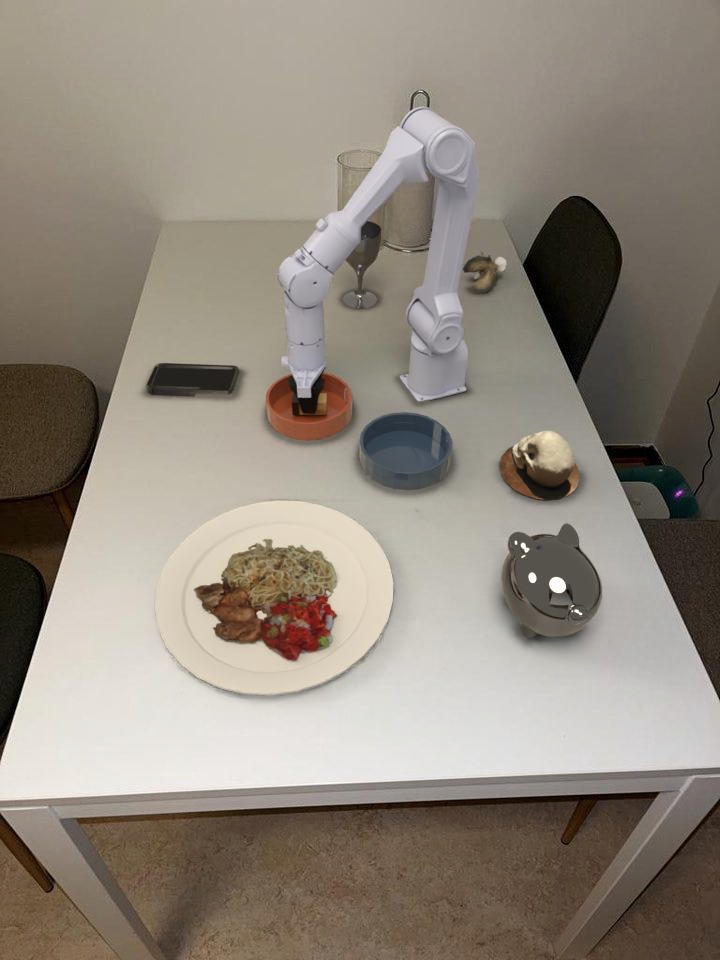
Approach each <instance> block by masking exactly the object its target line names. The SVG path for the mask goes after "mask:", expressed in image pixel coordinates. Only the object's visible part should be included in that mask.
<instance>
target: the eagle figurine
mask: <svg viewBox="0 0 720 960" xmlns="http://www.w3.org/2000/svg"><path fill="white" fill-rule="evenodd" d="M506 267H507V260H506V258H504V257H503V256H497V257H496V258H495V260H493V259H492V258H491V255H490V254H488V255H487V256H485V254H484V252H483V251H482V250H480V255H476V256H474V257H471V258H469V259H468V260H467V261H466V262H465V264H464V265H463V266H462V271H463V273H467V274H468V273H473V274H474V273H475V275H474V277H473V279H472V280H473V281H475V280H476V281H475V282H474V283H473V284H472V285H470V286H469V290H470V291H471V293H473V294H484V293H487V292H489V291H490V290H491V289H492V288H493V287H494V286H495V284H496V283H497V282H498V279H499V275H498V273H497V272H501V273H503V272H504V271H505V269H506Z"/></svg>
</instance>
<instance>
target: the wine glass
mask: <svg viewBox="0 0 720 960" xmlns="http://www.w3.org/2000/svg"><path fill="white" fill-rule="evenodd" d="M381 243H382V228H381V226H380V225H379V224H377V223H376V222H373V221H369V220H368V221H367V222H366V223H365V224H364V225H363V226H362V227H361V241H360V243H359V244H358V245H357V247H356V248H355V249H354V250H353V251H352V253H351V254H350V255H349V256H348V258H347V259H346V260H345V262H346V263H347V264H348V265H349V266H350V268H352V269H353V271H354V272H355V274H356V278H357V290H355V291H351V292H348V293H346V294H344V296H343V297H342V302H343V304H344V305H345V306H347V307H348V308H351V309H358V310H359V309H361V310H362V309H368V308H372V307H374V306H375V305H376V304H377V302H378V298H377V296H376V295H375V293H372V292H370V291H366V290H363V280H364V276H365V273H366V271H367V270H368V269H369V268H370V267H371V266H372V265H373V264H374V263H375V262H376V261H377V258H378V256H379V252H380V249H381Z"/></svg>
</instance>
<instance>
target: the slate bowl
mask: <svg viewBox="0 0 720 960" xmlns="http://www.w3.org/2000/svg"><path fill="white" fill-rule="evenodd" d="M453 442H454V441H453V438H452V436H451V433H450V432H449V431H448V429H447V428H446V427H445V426H444V425H443V424H442V423H440V421H438V420H436V419H434V418H432V417H430V416H427V415H424V414H420V413H417V412H407V411H402V412H401V411H400V412H390V413H387V414H383V415H381V416H378V417H376V418H374V419H373V420H371V421H370V422H368V424H366V425H365V427H364V428H363V429H362V431H361V433H360V437H359V448H358V449H359V456H358V457H359V463H360V466H361V468H362V470H363V472H364V473H365V474H366V475H367V476H368V477H369V478H370V479H371V480H373V481H374V482H375V483H377V484H380V485H382V486H385V487H386V488H390V489H395V490H401V491H413V490H420V489H425V488H427V487H430V486H432V485H434V484H436V485H438V484H440V483H441V482H442V481H443V480H444V479H445V478H446V477H447V475H448V473H449V470H450V467H451V461H452V453H453V444H454V443H453Z"/></svg>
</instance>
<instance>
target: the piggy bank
mask: <svg viewBox="0 0 720 960" xmlns="http://www.w3.org/2000/svg"><path fill="white" fill-rule="evenodd" d="M507 550H508V553H507V555H506V556H505V558H504V561H503V564H502V568H501V574H500V576H501V577H500V581H501V588H502V593H503V596H504V599H505V602H506V604H507V605H508V608H509V610H510V612H511V613H512V615H513V616H514V617H515V618H516V619H517V621H518V622H519V623H520V625H521V626H520V630H521V631H520V632H521V634H522V635H523V636H524V638H528V639H532V638H535V636H537V635H541V636H543V637H548V638H549V637H550V638H562V637H567V636H571V635H573V634H575V633H577V632H579V631H581V630H582V629H584V628H585V627H586V626H588V625H589V624H590V623H591V621H593V619H594V618H595V617H596V615H597V614H598V611H599V609H600V608H601V604H602V599H603V585H602V580H601V577H600V574H599V572H598V570H597V568H596V566H595V565H594V563H593V562H592V560H591V559H590V558H589V556H588V555H587V554H586V553H585V552H584V551H583V549H581V547H580V536H579V534H578V532H577V530H576V529H575V527H574V526H572V525H571V524H570V523H564V524H563V525H561V527H560V529H559V531H558V533H557V535H556V534H551V533H539V534H538V533H537V534H534V535H531V536H530V535H529V534H527V533H525V532H522V531H515V532H513V533H511V534H510V536H509V538H508V539H507Z"/></svg>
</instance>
